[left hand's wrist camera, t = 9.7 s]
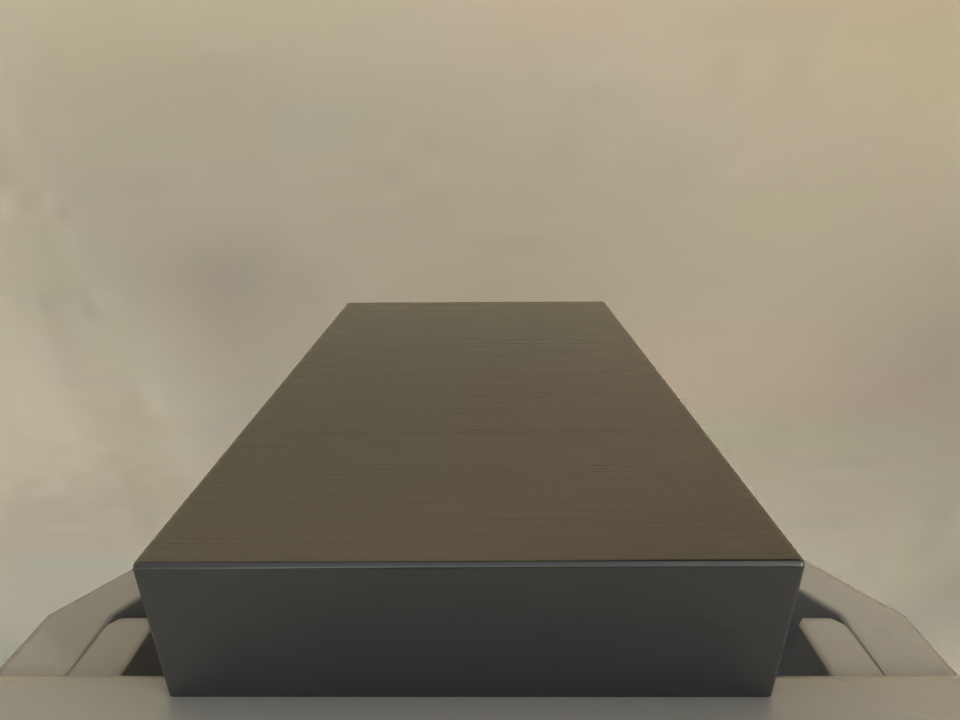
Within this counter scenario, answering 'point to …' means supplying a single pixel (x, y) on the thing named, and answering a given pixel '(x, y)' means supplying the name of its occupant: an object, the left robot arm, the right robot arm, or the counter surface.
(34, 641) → the left robot arm
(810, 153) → the counter surface
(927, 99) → the counter surface
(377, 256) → the counter surface
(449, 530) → the bar
